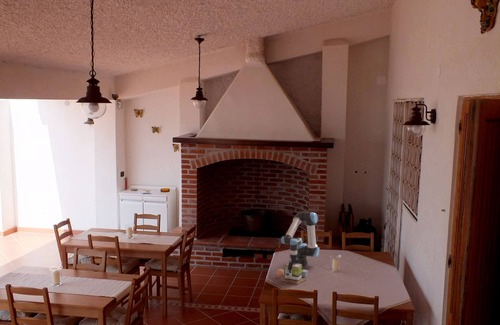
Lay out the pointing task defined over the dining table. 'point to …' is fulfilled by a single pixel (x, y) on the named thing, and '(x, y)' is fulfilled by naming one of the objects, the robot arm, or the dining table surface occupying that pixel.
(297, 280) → the slatted wooden board
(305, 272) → the slate block
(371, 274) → the dining table surface
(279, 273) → the terracotta jar
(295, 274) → the tea box
